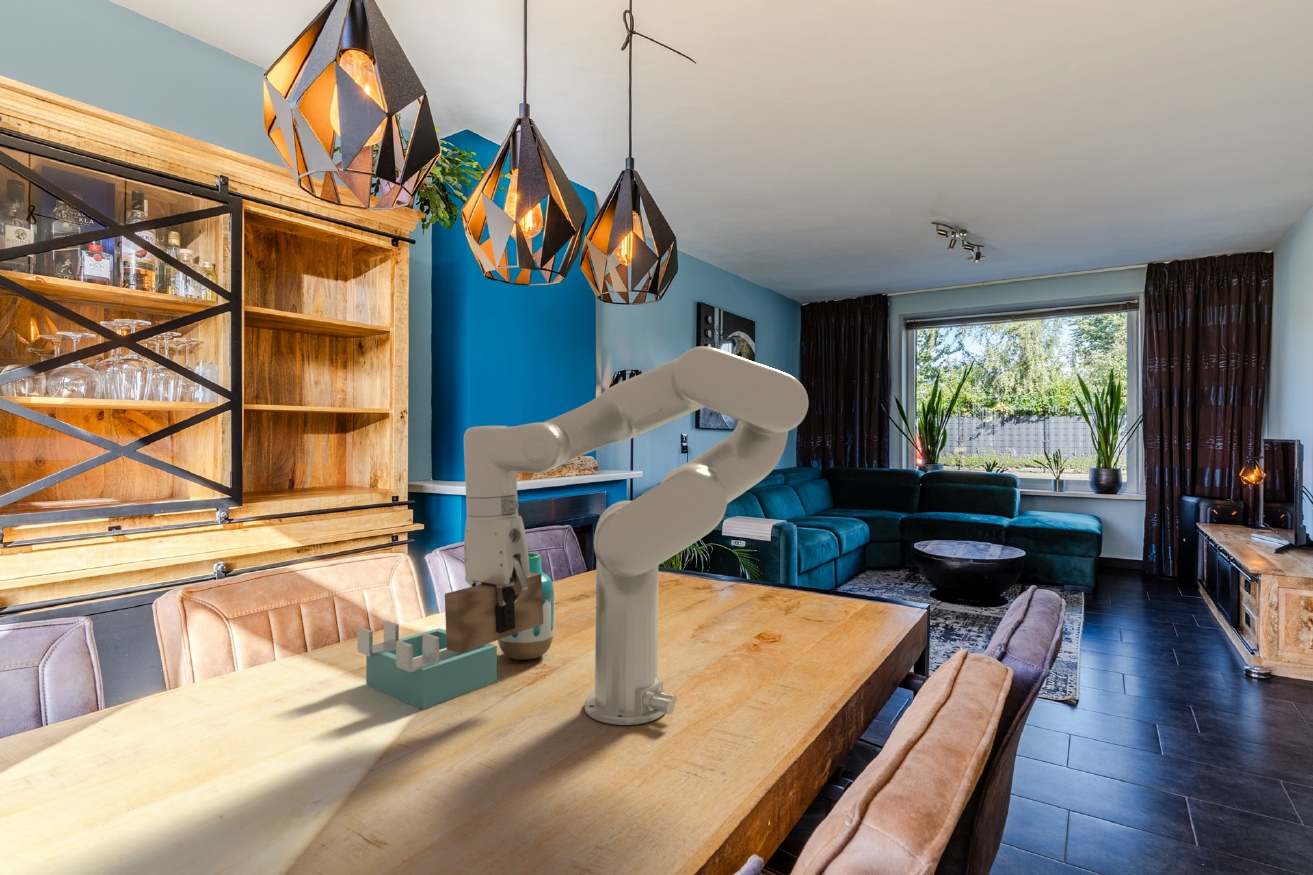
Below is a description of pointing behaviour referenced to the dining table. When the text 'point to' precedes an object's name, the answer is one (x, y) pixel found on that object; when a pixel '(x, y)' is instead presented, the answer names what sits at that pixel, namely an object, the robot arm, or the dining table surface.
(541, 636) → the vase
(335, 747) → the dining table surface
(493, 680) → the box
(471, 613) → the door
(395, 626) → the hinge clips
